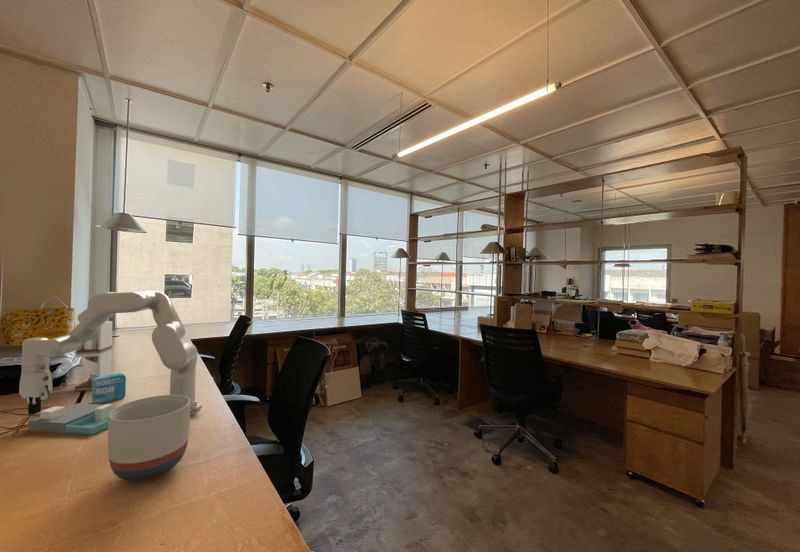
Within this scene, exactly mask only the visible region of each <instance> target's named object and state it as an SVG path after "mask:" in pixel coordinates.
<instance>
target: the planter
mask: <svg viewBox="0 0 800 552" xmlns="http://www.w3.org/2000/svg"><path fill="white" fill-rule="evenodd" d="M114 408H115V409H113V410H112V411H111V412H110V413H109V415H108V429H107V449H108V450H107V451H108V462H109V466H110V468H111V470H112V472H113V474H114V475H115V477H117V478H119V479H121V480H122V481H124V482H130V483H144V482H149V481H150V482H151V481H152V480H156V479H159V478H161V477H163V476H164V475H167V473H168V472H170V471H171V470H173V469H174V467H175V466H177V464H178V463H179V462H181V460H182V459H183V456H184V454H185V452H186V450H187V447H188V443H189V435H190V422H191V415H190V399H189V398H188V397H185V396H181V395H170V394H163V395H156V396H150V397H144V398H143V397H142V398H139V399H136V400H133V401H129V402H126V403H123V404H121V405H119V406H117V407H114Z"/></svg>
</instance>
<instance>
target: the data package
mask: <svg viewBox="0 0 800 552" xmlns="http://www.w3.org/2000/svg"><path fill="white" fill-rule="evenodd" d="M126 380H127V377H126V375H125V374H124V373H121V372H120V373H119V372H118V373H113V374H111V375H106V376H100V377H95V378H94V379H93V380H92V390H91V401H92V404H99V403H100V404H103V403H109V402H114V401H118V400H122V399H124V398H125V397H126V394H127V393H126V387H127V386H126V385H127V383H126V382H127V381H126Z"/></svg>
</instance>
